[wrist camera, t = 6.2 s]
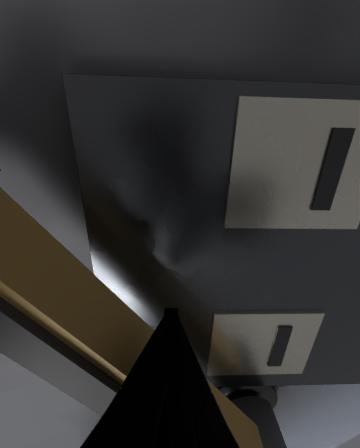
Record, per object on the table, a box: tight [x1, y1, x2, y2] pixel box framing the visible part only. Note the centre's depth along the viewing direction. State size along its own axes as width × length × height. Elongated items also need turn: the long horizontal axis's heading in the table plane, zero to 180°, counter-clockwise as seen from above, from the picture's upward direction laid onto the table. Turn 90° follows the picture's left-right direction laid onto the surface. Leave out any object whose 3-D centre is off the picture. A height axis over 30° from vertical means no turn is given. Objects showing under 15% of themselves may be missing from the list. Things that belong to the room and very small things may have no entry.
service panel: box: [62, 74, 360, 409], centre depth 12 cm, size 22×18×1 cm
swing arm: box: [0, 170, 287, 448], centre depth 10 cm, size 23×4×4 cm, turn 35°
